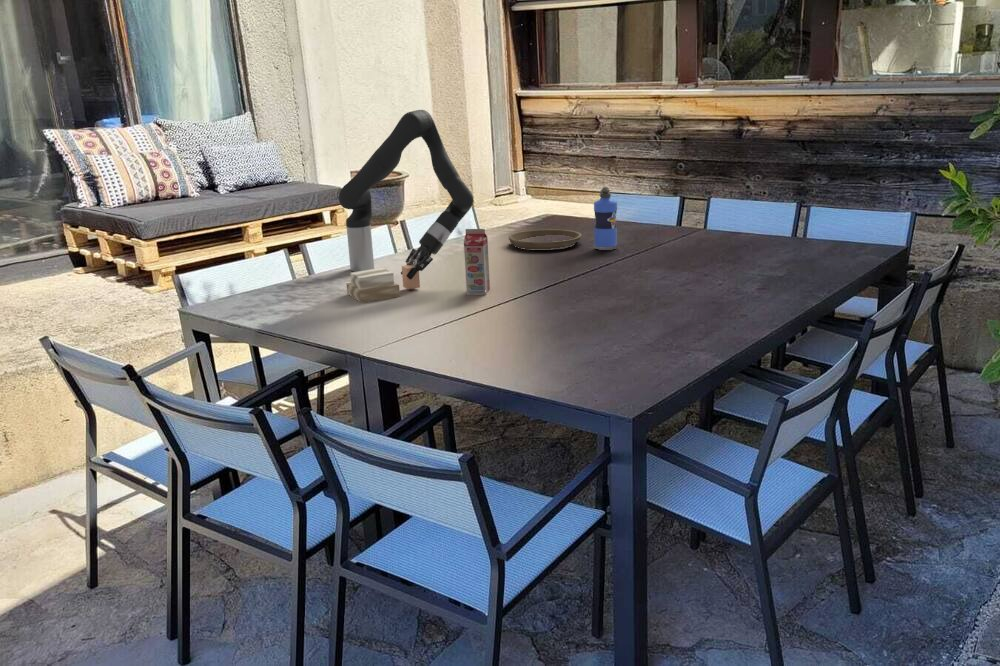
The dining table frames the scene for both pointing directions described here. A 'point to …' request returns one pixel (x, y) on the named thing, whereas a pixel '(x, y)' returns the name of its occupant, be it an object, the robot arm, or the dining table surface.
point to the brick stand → (372, 285)
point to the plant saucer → (543, 245)
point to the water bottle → (605, 220)
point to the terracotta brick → (410, 282)
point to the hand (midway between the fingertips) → (405, 276)
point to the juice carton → (476, 262)
